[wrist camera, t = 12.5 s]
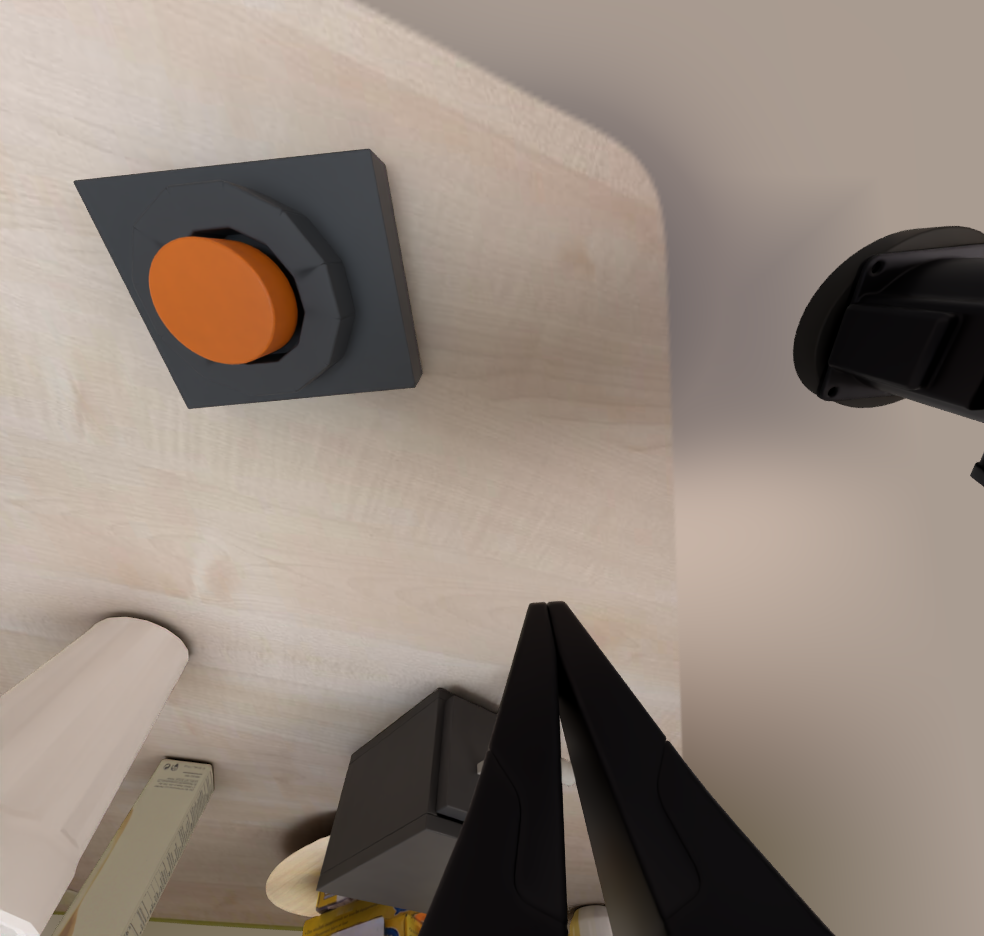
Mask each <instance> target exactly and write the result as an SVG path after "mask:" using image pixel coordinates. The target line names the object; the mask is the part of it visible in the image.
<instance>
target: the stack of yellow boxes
mask: <svg viewBox="0 0 984 936" xmlns="http://www.w3.org/2000/svg"><path fill="white" fill-rule="evenodd" d="M329 838H330V836H327V837H324V838H321V839H319V840H317V841H315V842H313V843H311V844H309V845H307V846H305V847H303V848H301V849H300V850H298V851H297V852H294V853H293V854H292V855H290V856H289V857H287V858H286V859H285V860H283V861H282V862H281V863H280V864H279V865H278V866H277V867H276V868H275V869H274V870H273V872H272V873H271V875H270V876H269V878H268V881H267V884H266V893H267V896H268V898H269V899H270V901H271V902H272V903H274V904H275V905H276V906H278V907H279V908H281V909H283V910H285V911H288V912H291V913H295V914H298V915H302V916H309V917H313V918H311V919H309V920H307V921H305V923H304V928H303V935H302V936H418V934H419V931H420V929H421V927H422V924H423V922H424V919H425V917H426V914H425V913H420V912H415V911H411V910H406V909H401V908H396V907H391V906H387V905H382V904H377V903H372V902H367V901H363V900H358V899H353V898H348V897H343V896H339V895H334V894H329V893H324V892H319V891H316V888H317V884H318V881H319V877H320V872H321V869H322V865H323V861H324V857H325V854H326V850H327V846H328V842H329Z"/></svg>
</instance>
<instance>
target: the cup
mask: <svg viewBox="0 0 984 936" xmlns="http://www.w3.org/2000/svg"><path fill="white" fill-rule="evenodd" d="M188 661H189V658H188V649H187V648H186V646H185V645H184V644H183V642H182V641H181V639H180V638H178V637H177V636H176V635H174V634H173V633H171V632H170V631H169V630H167V629H166V628H163V627H161V626H159V625H156V624H154V623H152V622H149V621H147V620H141V619H136V618H130V617H112V618H106V619H104V620H102V621H100V622H97V623H95V624H94V625H93V626H92V628H91V629H89V630H88V631H87V632H85V633H84V634H83V635H82V636H80V637H79V638H78V639H76V640H75V641H74V642H72V643H71V644H70V645H69V646H67V647H66V648H65V649H63V650H62V651H61V652H59V653H58V654H57V655H55V656H54V657H53V658H51V659H50V660H49V661H47V662H46V663H45V664H43V665H42V666H41V667H39V668H38V669H37V670H35V671H34V672H33V673H31V674H30V675H29V676H27V677H26V678H25V679H23V680H22V681H21V682H19V683H18V684H17V685H15V686H14V687H13V688H11V689H10V690H9V691H7V692H6V693H5V694H3V695H2V696H1V697H0V936H40V935H41V933H42V931H43V929H44V928H45V926H46V924H47V922H48V921H49V919H50V917H51V915H52V914H53V912H54V910H55V909H56V907H57V905H58V903H59V902H60V900H61V898H62V896H63V895H64V893H65V891H66V889H67V888H68V886H69V884H70V882H71V881H72V879H73V877H74V875H75V870H76V867H77V864H78V862H79V860H80V858H81V856H82V854H83V852H84V851H85V849H86V847H87V845H88V843H89V841H90V840H91V838H92V836H93V834H94V832H95V830H96V829H97V827H98V825H99V823H100V821H101V820H102V818H103V816H104V814H105V812H106V810H107V809H108V807H109V805H110V803H111V801H112V799H113V798H114V796H115V794H116V792H117V790H118V789H119V787H120V785H121V783H122V781H123V779H124V778H125V776H126V774H127V772H128V770H129V768H130V767H131V765H132V763H133V761H134V759H135V757H136V756H137V754H138V752H139V750H140V748H141V747H142V745H143V743H144V741H145V739H146V737H147V736H148V734H149V732H150V730H151V728H152V726H153V725H154V723H155V721H156V719H157V717H158V716H159V714H160V712H161V710H162V708H163V706H164V705H165V703H166V701H167V699H168V697H169V695H170V694H171V692H172V690H173V688H174V686H175V685H176V683H177V681H178V679H179V677H180V675H181V674H182V672H183V670H184V668H185V666H186V664H187V663H188Z"/></svg>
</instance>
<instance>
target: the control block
mask: <svg viewBox="0 0 984 936" xmlns="http://www.w3.org/2000/svg"><path fill="white" fill-rule="evenodd" d="M74 184H75V186H76V188H77V190H78V192H79V194H80V196H81V198H82V200H83V202H84V204H85V206H86V208H87V210H88V212H89V214H90V216H91V218H92V220H93V222H94V224H95V226H96V228H97V230H98V232H99V234H100V236H101V238H102V240H103V242H104V244H105V246H106V248H107V249H108V251H109V253H110V255H111V257H112V259H113V261H114V263H115V265H116V267H117V269H118V271H119V273H120V275H121V277H122V279H123V281H124V283H125V285H126V287H127V289H128V291H129V293H130V295H131V297H132V299H133V301H134V303H135V305H136V307H137V309H138V311H139V313H140V315H141V317H142V319H143V321H144V323H145V325H146V326H147V328H148V330H149V332H150V334H151V336H152V338H153V340H154V342H155V344H156V346H157V348H158V350H159V352H160V354H161V356H162V358H163V360H164V362H165V364H166V366H167V368H168V370H169V372H170V374H171V376H172V378H173V380H174V382H175V384H176V386H177V388H178V390H179V392H180V394H181V396H182V398H183V400H184V402H185V404H186V405H187V407H188V409H193V408H204V407H214V406H225V405H235V404H246V403H257V402H267V401H278V400H288V399H299V398H309V397H320V396H331V395H341V394H352V393H362V392H373V391H384V390H394V389H405V388H415V387H416V385H417V383H418V382H419V380H420V378H421V376H422V374H423V373H422V368H421V362H420V357H419V351H418V345H417V340H416V334H415V329H414V323H413V317H412V312H411V306H410V301H409V295H408V289H407V284H406V278H405V273H404V267H403V262H402V256H401V250H400V245H399V239H398V234H397V228H396V222H395V217H394V211H393V206H392V200H391V194H390V189H389V183H388V178H387V172H386V167H385V164H384V163H383V162H382V161H381V160H380V159H379V158H378V157H377V156H376V155H375V154H374V153H373V152H372V151H371V150H370V149H361V150H352V151H343V152H333V153H324V154H315V155H306V156H296V157H287V158H278V159H269V160H260V161H250V162H241V163H232V164H223V165H214V166H204V167H195V168H186V169H177V170H167V171H158V172H149V173H140V174H131V175H121V176H112V177H103V178H94V179H85V180H75V181H74ZM191 236H195V237H206V238H216V239H226V240H235V241H239V242H243V243H246V244H248V245H251V246H253V247H254V248H256V249H258V250H260V251H261V252H263V253H264V254H265V255H267V256H268V257H269V258H270V259H271V260H272V261H273V262H274V263H275V264H276V265H277V266H278V267H279V268H280V269H281V271H282V272H283V273H284V275H285V276H286V278H287V279H288V281H289V283H290V285H291V287H292V289H293V292H294V294H295V298H296V302H297V308H298V320H297V326H296V329H295V332H294V334H293V336H292V337H291V339H290V340H289V342H288V343H287V344H286V345H285V346H283V347H282V348H281V349H279V350H277V351H275V352H272V353H270V354H268V355H265V356H263V357H260V358H258V359H256V360H253V361H251V362H248V363H244V364H233V365H231V364H223V363H218V362H214V361H212V360H209V359H206V358H204V357H202V356H200V355H198V354H196V353H194V352H193V351H191V350H190V349H188V348H187V347H186V346H184V345H183V344H182V343H181V342H180V341H178V340H177V339H176V338H175V337H174V336H173V334H172V333H171V332H170V331H169V330H168V329H167V327H166V326H165V324H164V323H163V322H162V320H161V318H160V317H159V315H158V313H157V311H156V309H155V306H154V304H153V301H152V298H151V294H150V289H149V270H150V267H151V263H152V261H153V259H154V256H155V255H156V254H157V252H158V251H159V250H160V249H161V248H162V247H163V246H164V245H165V244H167V243H168V242H170V241H172V240H175V239H177V238H182V237H191Z"/></svg>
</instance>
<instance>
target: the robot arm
mask: <svg viewBox="0 0 984 936" xmlns="http://www.w3.org/2000/svg"><path fill="white" fill-rule="evenodd" d="M875 263H876V267H875V269H874V270H873V271H872V267H873V265H874V264H875ZM831 388H832V389H831ZM829 389H831V391H830V392H829V393H828V391H829ZM816 395H817V397H819V398H820V399H823V400H825V401H837V400H848V399H859V398H870V397H881V396H892V395H897V396H900V397H903V398H907V399H910V400H913V401H916V402H919V403H922V404H925V405H929V406H932V407H935V408H938V409H941V410H944V411H948V412H951V413H954V414H957V415H960V416H963V417H967V418H970V419H973V420H976V421H979V422H982V423H984V243H983V244H973V245H963V246H953V247H943V248H933V249H923V250H913V251H903V252H893V253H882V254H874V255H870V256H868V257H867V258H865V259H864V260H863V261H862V263H861V264H860V266H859V268H858V270H857V273H856V276H855V279H854V282H853V285H852V288H851V291H850V294H849V297H848V300H847V303H846V306H845V308H844V311H843V314H842V317H841V320H840V323H839V326H838V329H837V332H836V335H835V338H834V341H833V344H832V347H831V350H830V353H829V355H828V358H827V361H826V364H825V367H824V370H823V373H822V376H821V379H820V382H819V385H818V388H817V392H816ZM970 476H971V477H972V478H973V479H975V480H976V481H977V482H978V483H980V484H981V485H982V486H984V454H983V456H982V458H981V461H980V462H977V463H976V464H975V466H974V468H973V470H972V473H971V475H970ZM559 715H560V717H559ZM560 719H561V723H562V727H563V731H564V736H565V740H566V744H567V748H568V752H569V756H570V760H571V765H572V769H573V773H574V777H575V781H576V785H577V789H578V793H579V798H580V802H581V806H582V810H583V814H584V818H585V822H586V826H587V831H588V835H589V839H590V843H591V847H592V851H593V855H594V860H595V864H596V868H597V872H598V876H599V880H600V884H601V888H602V893H603V897H604V901H605V905H606V909H607V913H608V917H609V922H610V926H611V930H612V934H613V936H835V935H834V934H833V933H832V932H831V931H830V929H828V927H827V926H826V925H825V924H824V923H823V922H822V921H821V920H820V918H819V917H818V916H817V915H816V914H815V913H814V912H813V911H812V910H811V908H809V906H808V905H807V904H806V903H805V902H804V901H803V900H802V898H801V897H800V896H799V895H798V894H797V893H796V892H795V891H794V889H793V888H792V887H791V886H790V885H789V884H788V882H787V881H786V880H785V879H784V878H783V877H782V876H781V875H780V873H778V871H777V870H776V869H775V868H774V867H773V866H772V864H771V863H770V862H769V861H768V860H767V859H766V858H765V857H764V855H763V854H762V853H761V852H760V851H759V850H758V849H757V848H756V846H755V845H754V844H753V843H752V842H751V841H750V840H749V838H748V837H747V836H746V835H745V834H744V833H743V832H742V831H741V829H740V828H739V827H738V826H737V825H736V824H735V823H734V821H733V820H732V819H731V818H730V817H729V815H728V814H727V813H726V812H725V811H724V810H723V809H722V807H721V806H720V805H719V804H718V803H717V801H716V800H715V799H714V798H713V797H712V796H711V794H710V793H709V792H708V791H707V790H706V788H705V787H704V786H703V784H702V783H701V782H700V781H699V779H698V778H697V777H696V776H695V774H694V773H693V772H692V770H691V769H690V768H689V767H688V765H687V764H686V763H685V762H684V760H683V759H682V758H681V756H680V755H679V754H678V752H677V751H676V749H675V748H674V747H673V745H672V744H671V743H670V742H669V741H666V736H665V735H664V734H663V732H662V731H661V730H660V728H659V727H658V726H657V724H656V723H655V722H654V720H653V719H652V718H651V716H650V715H649V714H648V712H647V711H646V710H645V708H644V707H643V706H642V704H641V703H640V702H639V700H638V699H637V698H636V696H635V695H634V694H633V692H632V691H631V690H630V688H629V687H628V686H627V684H626V683H625V682H624V680H623V679H622V678H621V676H620V675H619V674H618V672H617V671H616V670H615V668H614V667H613V666H612V664H611V663H610V662H609V660H608V659H607V658H606V656H605V655H604V654H603V652H602V651H601V650H600V648H599V647H598V646H597V644H596V643H595V642H594V640H593V639H592V638H591V636H590V635H589V633H588V632H587V631H586V629H585V628H584V627H583V625H582V624H581V623H580V621H579V620H578V619H577V617H576V616H575V615H574V613H573V612H572V611H571V609H570V608H569V607H568V605H567V604H566V603H565V602H563V601H555V602H548V603H547V604H546V603H545V602H539V603H531V604H529V606H528V610H527V613H526V617H525V620H524V624H523V627H522V631H521V634H520V638H519V641H518V645H517V648H516V652H515V655H514V659H513V662H512V665H511V669H510V672H509V676H508V679H507V683H506V686H505V690H504V693H503V697H502V700H501V704H500V707H499V711H498V714H497V718H496V721H495V725H494V728H493V732H492V735H491V739H490V742H489V746H488V751H487V752H486V755H485V759H484V762H483V766H482V769H481V772H480V776H479V779H478V782H477V785H476V788H475V791H474V794H473V797H472V801H471V804H470V806H469V809H468V812H467V814H466V817H465V820H464V822H463V825H462V828H461V830H460V833H459V836H458V838H457V841H456V843H455V846H454V848H453V851H452V853H451V856H450V858H449V861H448V863H447V865H446V868H445V870H444V873H443V875H442V878H441V880H440V883H439V885H438V887H437V890H436V892H435V895H434V897H433V900H432V902H431V905H430V907H429V910H428V912H427V914H426V917H425V919H424V922H423V924H422V927H421V929H420V931H419V934H418V936H568V929H567V923H568V919H567V894H566V868H565V843H564V818H563V792H562V767H561V742H560Z"/></svg>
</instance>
